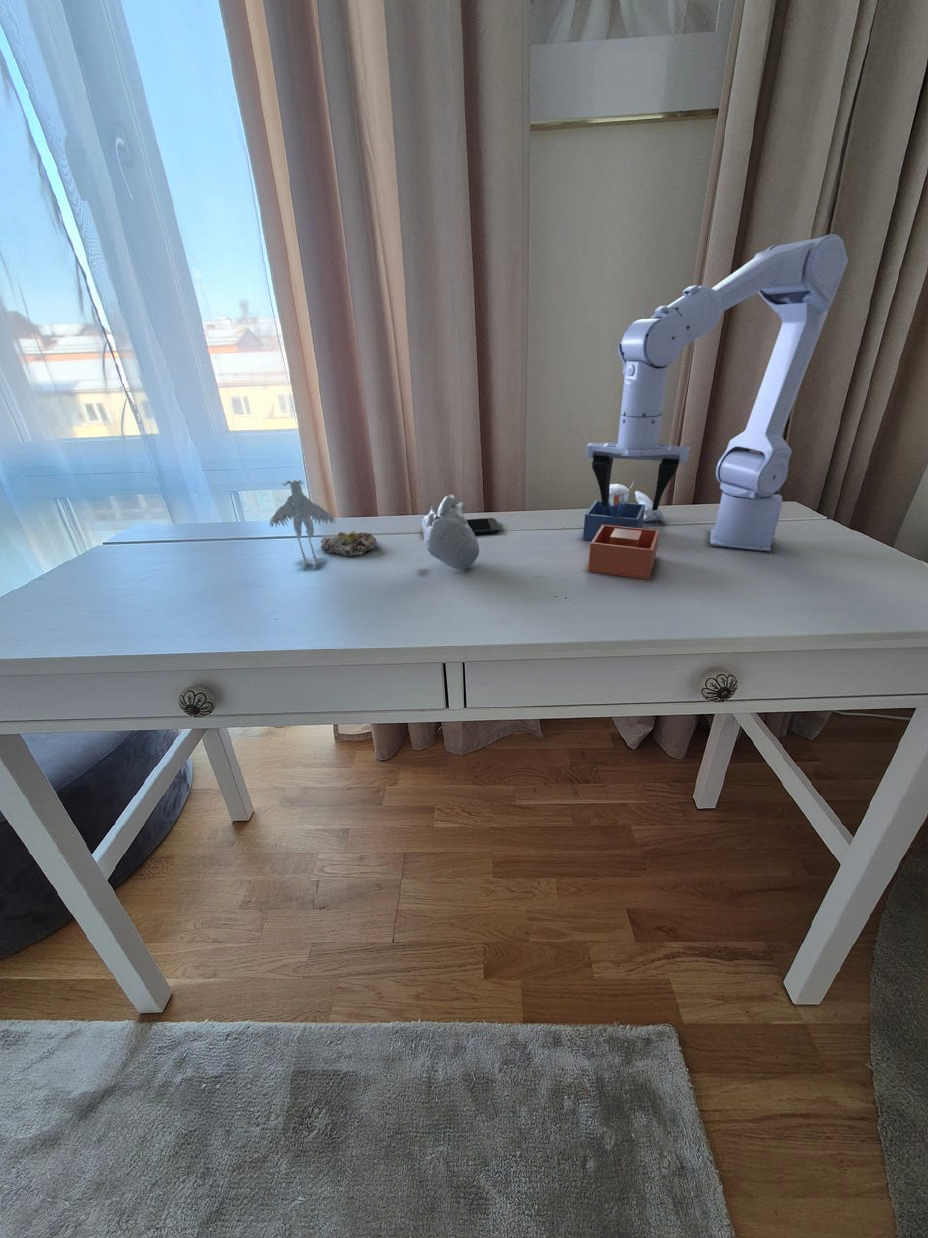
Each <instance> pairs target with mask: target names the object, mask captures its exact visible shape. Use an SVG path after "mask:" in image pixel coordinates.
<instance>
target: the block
mask: <svg viewBox="0 0 928 1238" xmlns="http://www.w3.org/2000/svg"><path fill="white" fill-rule="evenodd" d="M641 536H642V531H638V530H628V529H618V528H615V529H614V531H613V533H612V535H611V536H610V543H609V544H611V545H620V546H629V547H638V548H640V543H641Z"/></svg>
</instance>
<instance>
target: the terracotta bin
mask: <svg viewBox="0 0 928 1238" xmlns="http://www.w3.org/2000/svg"><path fill="white" fill-rule="evenodd" d="M615 528H618V529H628V530H638V531H642V536H641V543H640V548H638V547H629V546H620V545H611V544H609V543H610V536H611V535H612V533H613V531H614V529H615ZM660 531H661V530H660V529H650V528H643V527H642V528H632V527H622V526H612V525H602V526H601V527H600V529H599V530H598V532H597V534H596V535H595V537H594V539H593V540H592V541H591V542H590V544H589V554H588V567H587V572H590V573H591V572H592V573H599V574H606V575H612V576H620V577H627V578H633V579H642V580H649V579H650V577H651V573H652V570H653V567H654V563H655V561H656V558H657V557H656V556H657V550H658V544H659V537H660Z"/></svg>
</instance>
